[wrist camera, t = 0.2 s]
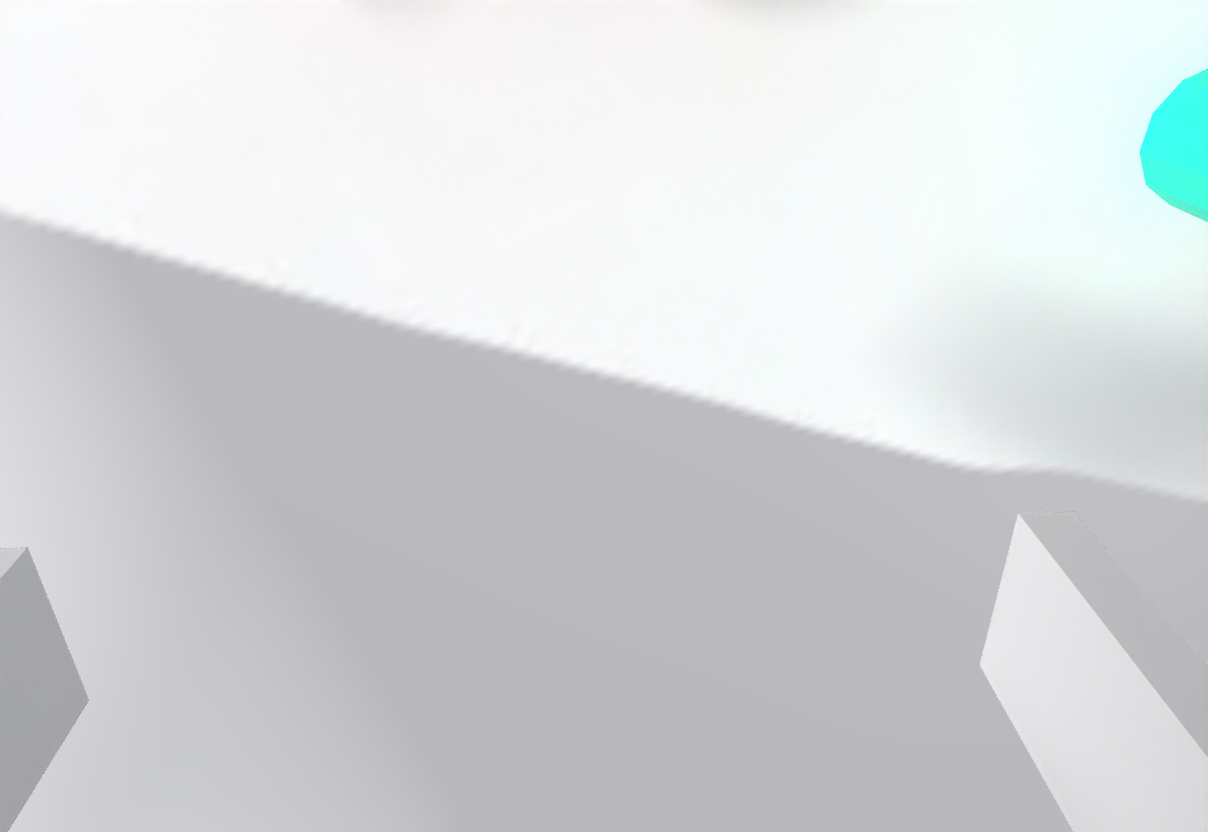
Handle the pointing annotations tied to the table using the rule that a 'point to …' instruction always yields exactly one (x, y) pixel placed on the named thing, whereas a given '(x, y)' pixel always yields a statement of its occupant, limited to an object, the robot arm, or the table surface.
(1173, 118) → the candle
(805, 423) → the table surface
